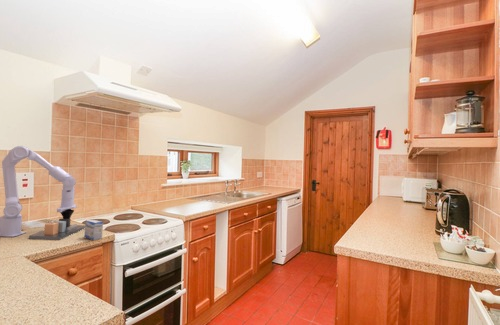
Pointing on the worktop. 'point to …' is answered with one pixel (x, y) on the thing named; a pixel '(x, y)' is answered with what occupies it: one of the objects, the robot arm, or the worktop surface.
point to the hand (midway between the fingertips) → (66, 223)
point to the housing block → (51, 228)
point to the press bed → (59, 235)
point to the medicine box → (93, 229)
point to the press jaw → (62, 224)
